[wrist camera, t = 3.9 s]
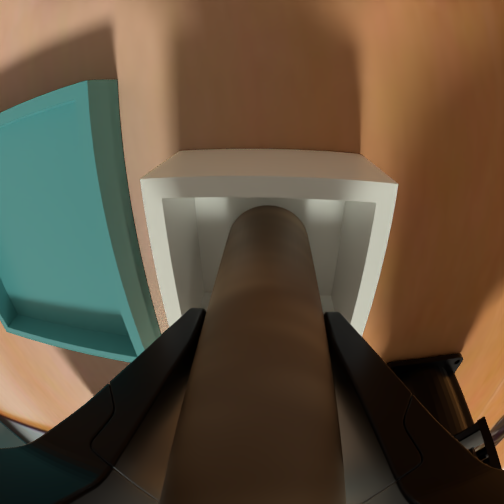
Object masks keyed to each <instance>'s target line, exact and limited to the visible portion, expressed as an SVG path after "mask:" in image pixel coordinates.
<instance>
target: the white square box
mask: <svg viewBox="0 0 504 504" xmlns="http://www.w3.org/2000/svg"><path fill="white" fill-rule="evenodd" d="M140 183H141V190H142V197H143V203H144V210H145V216H146V222H147V228H148V233H149V239H150V244H151V249H152V254H153V259H154V264H155V269H156V274H157V278H158V283H159V287H160V292H161V296H162V300H163V305H164V309H165V313H166V317H167V321H168V325H169V327H170V326H171V325H172V324H174V323H175V322H176V321H177V320H178V319H179V318H180V317H181V316H182V315H183V314H184V313H186V312H187V311H188V310H189V309H190V308H204V309H205V310H206V312H207V308H208V304H209V301H210V297H211V294H212V290H213V287H214V283H215V279H216V276H217V272H218V269H219V266H220V262H221V259H222V255H223V252H224V248H225V245H226V241H227V238H228V235H229V231H230V228H231V226H232V224H233V223H234V221H235V220H236V219H237V218H238V217H239V216H240V215H241V214H242V213H244V212H245V211H247V210H249V209H251V208H254V207H257V206H263V205H271V206H278V207H282V208H284V209H287V210H289V211H290V212H292V213H293V214H295V215H296V216H297V217H298V218H299V219H300V220H301V221H302V223H303V224H304V226H305V228H306V231H307V234H308V239H309V244H310V248H311V253H312V258H313V263H314V268H315V273H316V278H317V283H318V288H319V294H320V299H321V305H322V310H323V315H324V313H325V312H339V313H341V314H342V315H343V316H344V318H345V319H346V320H347V321H348V322H349V323H350V324H351V325H352V326H353V327H354V329H355V330H356V331H357V332H358V333H359V334H360V335H361V336H362V335H363V332H364V329H365V325H366V322H367V319H368V316H369V312H370V309H371V306H372V302H373V299H374V295H375V291H376V288H377V284H378V280H379V276H380V272H381V268H382V264H383V260H384V256H385V252H386V247H387V243H388V238H389V233H390V229H391V224H392V218H393V213H394V208H395V202H396V196H397V190H398V183H397V182H395V181H394V180H393V179H392V178H391V177H389V176H388V175H387V174H386V173H384V172H383V171H382V170H381V169H379V168H378V167H377V166H376V165H374V164H373V163H372V162H370V161H369V160H368V159H367V158H365V157H364V156H363V155H361V154H356V153H344V152H331V151H315V150H293V149H206V150H184V151H179V152H177V153H176V154H174V155H173V156H172V157H170V158H169V159H167V160H166V161H164V162H163V163H161V164H160V165H159V166H157V167H156V168H154V169H153V170H152V171H150V172H149V173H148V174H146V175H145V176H143V177H142V178H141V179H140Z"/></svg>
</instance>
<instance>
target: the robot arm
mask: <svg viewBox="0 0 504 504" xmlns="http://www.w3.org/2000/svg"><path fill="white" fill-rule="evenodd" d="M205 315H206V310H205V309H204V308H190V309H189V310H188V311H187V312H186V313H184V314H183V315H182V316H181V317H180V318H179V319H178V320H177V321H176V322H175V323H174V324H172V325H171V326H170V327H169V328H168V329H167V330H166V331H165V332H164V333H163V334H162V335H161V336H159V337H158V338H157V339H156V340H155V341H154V342H153V343H152V344H151V345H150V346H149V347H147V348H146V349H145V350H144V351H143V352H142V353H141V354H140V355H139V356H138V357H137V358H135V359H134V360H133V361H132V362H131V363H130V364H129V365H128V366H127V367H126V368H125V369H124V370H122V371H121V372H120V373H119V374H118V375H117V376H116V377H115V378H114V379H113V380H112V381H110V384H107V385H106V386H105V387H104V388H103V389H102V390H101V391H99V392H98V393H97V394H96V395H95V396H94V397H93V398H91V399H90V400H89V401H88V402H87V403H86V404H84V405H83V406H82V407H81V408H79V409H78V410H77V411H75V412H74V413H73V414H71V415H70V416H69V417H67V418H66V419H65V420H63V421H62V422H60V423H59V424H58V425H56V426H55V427H54V428H52V429H51V430H49V431H48V432H47V433H45V434H44V435H42V436H41V437H39V438H38V439H36V440H35V441H33V442H31V443H29V444H26V445H23V446H19V447H12V448H2V449H1V448H0V504H159V501H160V496H161V492H162V487H163V483H164V478H165V474H166V469H167V465H168V461H169V456H170V452H171V448H172V444H173V439H174V435H175V431H176V427H177V423H178V419H179V415H180V411H181V407H182V403H183V399H184V395H185V391H186V387H187V383H188V379H189V375H190V371H191V367H192V364H193V360H194V356H195V352H196V348H197V345H198V341H199V337H200V334H201V330H202V326H203V323H204V319H205ZM323 316H324V322H325V327H326V333H327V339H328V346H329V352H330V359H331V365H332V372H333V379H334V386H335V394H336V401H337V409H338V417H339V426H340V435H341V445H342V455H343V466H344V478H345V491H346V504H504V470H502V468H501V465H500V461H499V458H498V455H497V451H496V448H495V445H494V442H493V439H492V436H491V433H490V430H489V428H488V425H487V422H486V419H485V417H482V418H481V419H479V420H477V422H476V423H475V424H474V422H473V419H472V417H471V414H470V411H469V408H468V406H467V403H466V401H465V398H464V395H463V393H462V390H461V388H460V386H459V383H458V381H457V378H456V376H455V374H454V373H455V371H456V370H457V368H458V367H459V365H460V364H461V362H462V360H463V357H462V355H461V354H460V353H457V354H451V355H445V356H438V357H431V358H423V359H414V360H405V361H395V362H390V363H388V364H386V363H385V362H384V361H383V360H382V359H381V358H380V356H379V355H378V354H377V353H376V352H375V351H374V350H373V349H372V347H371V346H370V345H369V344H368V343H367V342H366V341H365V340H364V339H363V337H362V336H361V335H360V334H359V333H358V332H357V331H356V330H355V329H354V327H353V326H352V325H351V324H350V323H349V322H348V321H347V320H346V319H345V318H344V316H343V315H342V314H341V313H339V312H325V313H324V315H323ZM482 443H484V444H485V447H483V448H482V449H480V450H478V451H476V452H475V450H474V448H475V447H477V446H479V445H480V444H482Z"/></svg>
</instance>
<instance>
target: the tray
mask: <svg viewBox="0 0 504 504" xmlns="http://www.w3.org/2000/svg"><path fill="white" fill-rule="evenodd" d="M0 321H1V322H2V324H3V326H4V328H5V329H6V331H7V332H9V333H12V334H15V335H18V336H22V337H25V338H28V339H31V340H35V341H38V342H42V343H45V344H49V345H53V346H56V347H60V348H64V349H68V350H72V351H76V352H81V353H85V354H90V355H94V356H99V357H104V358H109V359H114V360H119V361H125V362H132V361H133V360H134V359H135V358H137V357H138V356H139V355H140V354H141V353H142V352H143V351H144V350H145V349H146V348H147V347H149V346H150V345H151V344H152V343H153V342H154V341H155V340H156V339H157V338H158V337H159V336H161V333H160V329H159V326H158V322H157V319H156V315H155V311H154V308H153V304H152V300H151V296H150V292H149V288H148V284H147V280H146V276H145V272H144V268H143V263H142V259H141V254H140V250H139V245H138V240H137V235H136V230H135V225H134V219H133V214H132V208H131V202H130V196H129V190H128V184H127V177H126V170H125V162H124V154H123V146H122V136H121V126H120V114H119V101H118V83H117V80H86V81H83V82H79V83H76V84H73V85H70V86H67V87H64V88H61V89H58V90H55V91H52V92H49V93H46V94H44V95H41V96H38V97H36V98H33V99H31V100H28V101H26V102H23V103H21V104H19V105H16V106H14V107H12V108H10V109H7V110H5V111H3V112H1V113H0Z"/></svg>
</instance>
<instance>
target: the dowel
mask: <svg viewBox="0 0 504 504" xmlns="http://www.w3.org/2000/svg"><path fill="white" fill-rule="evenodd" d="M159 504H346V491H345V478H344V466H343V455H342V445H341V435H340V426H339V417H338V409H337V401H336V394H335V386H334V379H333V372H332V365H331V359H330V352H329V346H328V339H327V333H326V327H325V322H324V316H323V310H322V305H321V299H320V294H319V288H318V283H317V278H316V273H315V268H314V263H313V258H312V253H311V248H310V244H309V239H308V234H307V231H306V228H305V226H304V224H303V223H302V221H301V220H300V219H299V218H298V217H297V216H296V215H295V214H293V213H292V212H290V211H289V210H287V209H284V208H282V207H278V206H271V205H263V206H257V207H254V208H251V209H249V210H247V211H245V212H244V213H242V214H241V215H240V216H239V217H238V218H237V219H236V220H235V221H234V223H233V224H232V226H231V228H230V231H229V235H228V238H227V241H226V245H225V248H224V252H223V255H222V259H221V262H220V266H219V269H218V272H217V276H216V279H215V283H214V287H213V290H212V294H211V297H210V301H209V304H208V308H207V312H206V315H205V319H204V323H203V326H202V330H201V334H200V337H199V341H198V345H197V348H196V352H195V356H194V360H193V364H192V367H191V371H190V375H189V379H188V383H187V387H186V391H185V395H184V399H183V403H182V407H181V411H180V415H179V419H178V423H177V427H176V431H175V435H174V439H173V444H172V448H171V452H170V456H169V461H168V465H167V469H166V474H165V478H164V483H163V487H162V492H161V496H160V501H159Z"/></svg>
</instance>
